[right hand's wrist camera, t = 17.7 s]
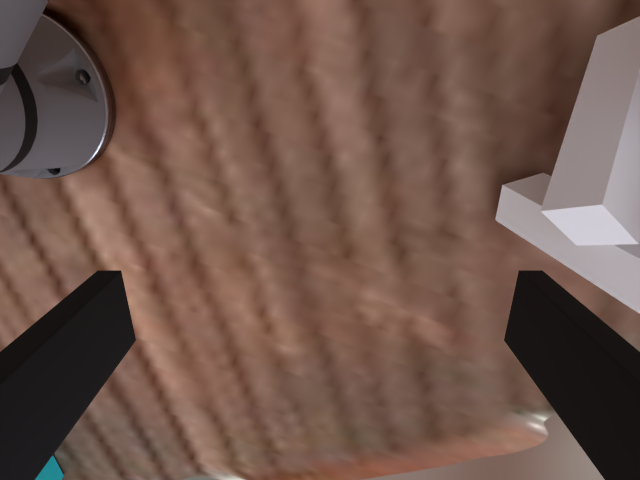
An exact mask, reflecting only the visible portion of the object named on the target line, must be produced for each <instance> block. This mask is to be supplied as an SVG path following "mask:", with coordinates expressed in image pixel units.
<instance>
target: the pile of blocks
mask: <svg viewBox="0 0 640 480" xmlns="http://www.w3.org/2000/svg"><path fill="white" fill-rule="evenodd" d="M495 220H496V221H497V222H499V223H501V224H502V225H504V226H505V227H507V228H508V229H510V230H511V231H513V232H514V233H516V234H518V235H519V236H521V237H522V238H524V239H525V240H527V241H528V242H530V243H531V244H533V245H534V246H536V247H538V248H539V249H541V250H542V251H544V252H545V253H547V254H548V255H550V256H551V257H553V258H555V259H556V260H558V261H559V262H561V263H562V264H564V265H565V266H567V267H568V268H570V269H572V270H573V271H575V272H576V273H578V274H579V275H581V276H582V277H584V278H585V279H587V280H588V281H590V282H592V283H593V284H595V285H596V286H598V287H599V288H601V289H602V290H604V291H605V292H607V293H609V294H610V295H612V296H613V297H615V298H616V299H618V300H619V301H621V302H622V303H624V304H625V305H627V306H629V307H630V308H632V309H633V310H635V311H636V312H638V313H639V314H640V16H639V17H637V18H635V19H632V20H630V21H628V22H626V23H624V24H622V25H619V26H617V27H615V28H613V29H611V30H608V31H606V32H604V33H602V34H600V35H597V38H596V41H595V44H594V47H593V50H592V53H591V56H590V59H589V63H588V66H587V69H586V72H585V75H584V78H583V81H582V84H581V87H580V90H579V93H578V96H577V100H576V103H575V106H574V109H573V112H572V115H571V118H570V121H569V124H568V127H567V130H566V133H565V137H564V140H563V143H562V146H561V149H560V152H559V155H558V158H557V161H556V164H555V167H554V170H553V174H552V176H549V175H547V174H545V173H541V174H537V175H534V176H531V177H527V178H524V179H521V180H517V181H514V182H510V183H507V184H504V185H502V189H501V194H500V199H499V204H498V209H497V214H496V219H495Z"/></svg>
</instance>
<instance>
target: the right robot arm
mask: <svg viewBox="0 0 640 480" xmlns="http://www.w3.org/2000/svg"><path fill="white" fill-rule="evenodd" d="M48 1H49V0H0V174H4V175H13V176H21V177H30V178H57V177H61V176H65V175H68V174H71V173H74V172H76V171H79V170H81V169H83V168H86V167H87V166H89V165H90V164H92V163H93V162H94V161H95V160H97V159H98V158H99V156H100V155H101V154H102V153H103V152H104V150H105V149H106V147H107V145H108V143H109V141H110V139H111V136H112V133H113V129H114V124H115V102H114V96H113V91H112V88H111V84H110V81H109V79H108V76H107V74H106V72H105V70H104V68H103V66H102V64H101V62H100V61H99V59H98V57H97V56H96V55H95V53H94V52H93V50H92V49H91V48H90V47H89V45H88V44H87V43H86V42H85V41H84V40H83V39H82V38H81V37H80V36H79V35H78V34H77V33H76V32H75V31H74V30H72V29H71V28H70V27H68V26H67V25H66V24H64V23H63V22H61V21H59V20H58V19H56V18H54V17H52V16H50V15H48V14H46V13H44V12H43V11H44V9H45V7H46V5H47V3H48ZM135 341H136V339H135V334H134V329H133V325H132V320H131V315H130V311H129V306H128V301H127V296H126V292H125V287H124V282H123V278H122V273H121V271H97V272H96V273H94V274H93V275H92V276H91V277H90V278H88V279H87V280H86V281H85V282H84V283H82V284H81V285H80V286H79V287H78V288H76V289H75V290H74V291H73V292H72V293H70V294H69V295H68V296H67V297H66V298H64V299H63V300H62V301H61V302H60V303H58V304H57V305H56V306H55V307H54V308H52V309H51V310H50V311H49V312H48V313H46V314H45V315H44V316H43V317H42V318H40V319H39V320H38V321H37V322H36V323H34V324H33V325H32V326H31V327H30V328H28V329H27V330H26V331H25V332H24V333H23V334H21V335H20V336H19V337H18V338H17V339H15V340H14V341H13V342H12V343H11V344H9V345H8V346H7V347H6V348H5V349H3V350H2V351H1V352H0V480H35V479H36V478H37V476H38V475H39V474H40V472H41V471H42V469H43V468H44V467H45V465H46V464H47V463H48V461H49V460H50V458H51V457H52V456H53V454H54V453H55V451H56V450H57V449H58V447H59V446H60V445H61V443H62V442H63V440H64V439H65V438H66V436H67V435H68V433H69V432H70V431H71V429H72V428H73V427H74V425H75V424H76V422H77V421H78V420H79V418H80V417H81V415H82V414H83V413H84V411H85V410H86V409H87V407H88V406H89V404H90V403H91V402H92V400H93V399H94V397H95V396H96V395H97V393H98V392H99V391H100V389H101V388H102V386H103V385H104V384H105V382H106V381H107V379H108V378H109V377H110V375H111V374H112V373H113V371H114V370H115V368H116V367H117V366H118V364H119V363H120V361H121V360H122V359H123V357H124V356H125V355H126V353H127V352H128V350H129V349H130V348H131V346H132V345H133V343H134V342H135ZM504 341H505V342H506V343H507V345H508V346H509V348H510V349H511V350H512V352H513V353H514V355H515V356H516V357H517V359H518V360H519V361H520V363H521V364H522V366H523V367H524V368H525V370H526V371H527V373H528V374H529V375H530V377H531V378H532V379H533V381H534V382H535V384H536V385H537V386H538V388H539V389H540V391H541V392H542V393H543V395H544V396H545V397H546V399H547V400H548V402H549V403H550V404H551V406H552V407H553V409H554V410H555V411H556V413H557V414H558V415H559V417H560V418H561V420H562V421H563V422H564V424H565V425H566V426H567V428H568V429H569V431H570V432H571V433H572V435H573V436H574V438H575V439H576V440H577V442H578V443H579V445H580V446H581V447H582V449H583V450H584V451H585V453H586V454H587V456H588V457H589V458H590V460H591V461H592V463H593V464H594V465H595V467H596V468H597V469H598V471H599V472H600V474H601V475H602V476H603V478H604V479H605V480H640V352H639V351H638V350H637V349H635V348H634V347H633V346H632V345H631V344H629V343H628V342H627V341H626V340H625V339H623V338H622V337H621V336H620V335H619V334H617V333H616V332H615V331H614V330H613V329H612V328H610V327H609V326H608V325H607V324H606V323H604V322H603V321H602V320H601V319H600V318H598V317H597V316H596V315H595V314H594V313H592V312H591V311H590V310H589V309H588V308H586V307H585V306H584V305H583V304H582V303H580V302H579V301H578V300H577V299H576V298H574V297H573V296H572V295H571V294H570V293H568V292H567V291H566V290H565V289H564V288H562V287H561V286H560V285H559V284H558V283H556V282H555V281H554V280H553V279H552V278H550V277H549V276H548V275H547V274H546V273H544V272H543V271H519V273H518V278H517V282H516V287H515V292H514V296H513V301H512V306H511V311H510V315H509V320H508V325H507V329H506V334H505V339H504Z"/></svg>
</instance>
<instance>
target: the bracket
mask: <svg viewBox="0 0 640 480" xmlns="http://www.w3.org/2000/svg"><path fill="white" fill-rule="evenodd" d="M63 477H64V475H63V473H62V471H61V469H60V467H59V465H58V464H57V462H56V460H55V458H54V456H52V457H51V458H50V460H49V461H48V463H47V464H46V465H45V467H44V468H43V469H42V471H41V472H40V474H39V475H38V476H37V478H36V479H35V480H62V478H63Z"/></svg>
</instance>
